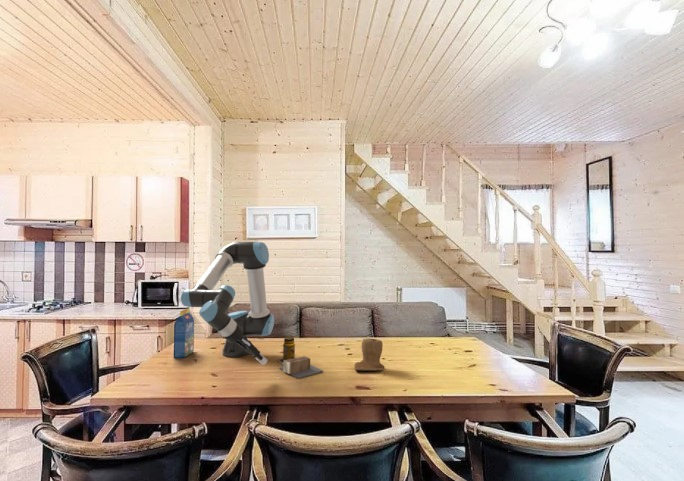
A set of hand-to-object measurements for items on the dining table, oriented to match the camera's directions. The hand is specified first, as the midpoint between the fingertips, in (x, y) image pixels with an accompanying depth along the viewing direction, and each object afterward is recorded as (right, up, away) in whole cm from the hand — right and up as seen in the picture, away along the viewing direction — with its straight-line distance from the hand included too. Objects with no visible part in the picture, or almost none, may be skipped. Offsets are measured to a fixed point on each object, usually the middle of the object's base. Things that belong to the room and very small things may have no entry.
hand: (265, 362), depth 161 cm
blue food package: (-53, -8, +36) cm, 65 cm away
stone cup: (+48, -9, +15) cm, 51 cm away
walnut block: (+8, -5, +7) cm, 12 cm away
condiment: (+6, -9, +27) cm, 29 cm away
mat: (+15, -8, +12) cm, 21 cm away
